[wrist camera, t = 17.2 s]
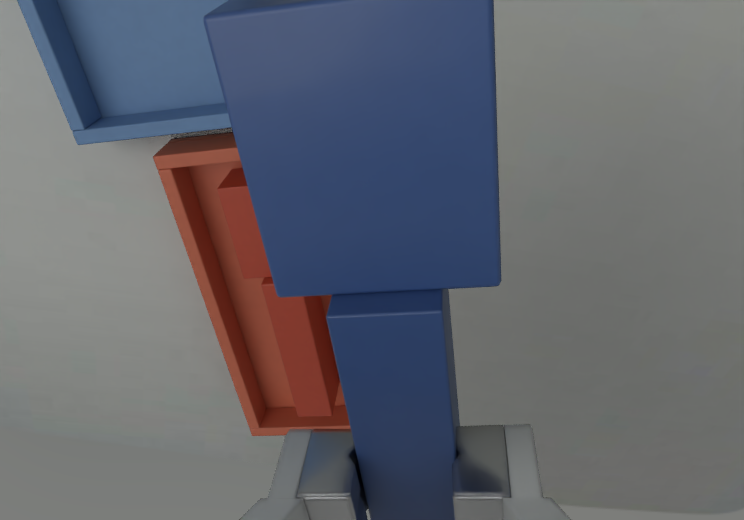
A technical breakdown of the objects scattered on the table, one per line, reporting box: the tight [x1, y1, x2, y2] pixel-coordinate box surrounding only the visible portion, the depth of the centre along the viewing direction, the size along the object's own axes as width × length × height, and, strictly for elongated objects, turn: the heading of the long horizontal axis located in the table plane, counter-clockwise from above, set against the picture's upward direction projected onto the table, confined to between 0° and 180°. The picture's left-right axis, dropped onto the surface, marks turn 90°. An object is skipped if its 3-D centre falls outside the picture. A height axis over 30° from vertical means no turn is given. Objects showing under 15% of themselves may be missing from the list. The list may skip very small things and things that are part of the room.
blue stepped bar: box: [203, 0, 501, 520], centre depth 11 cm, size 12×4×2 cm, turn 8°
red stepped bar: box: [217, 168, 340, 417], centre depth 28 cm, size 12×4×2 cm, turn 8°
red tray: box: [153, 132, 351, 436], centre depth 29 cm, size 16×8×2 cm, turn 9°
